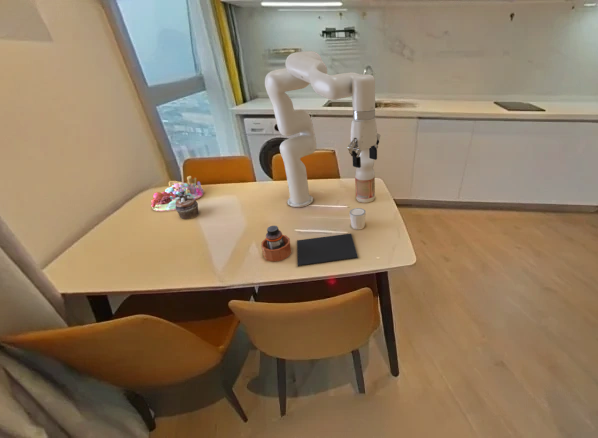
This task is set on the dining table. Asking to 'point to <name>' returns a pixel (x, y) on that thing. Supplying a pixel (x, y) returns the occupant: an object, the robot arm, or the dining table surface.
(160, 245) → the dining table surface
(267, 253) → the holder
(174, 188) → the candy platter
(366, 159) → the fruit juice
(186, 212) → the cupcake
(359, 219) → the white cup
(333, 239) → the mat
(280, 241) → the supplement bottle
